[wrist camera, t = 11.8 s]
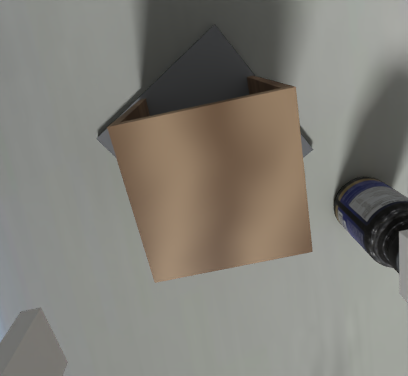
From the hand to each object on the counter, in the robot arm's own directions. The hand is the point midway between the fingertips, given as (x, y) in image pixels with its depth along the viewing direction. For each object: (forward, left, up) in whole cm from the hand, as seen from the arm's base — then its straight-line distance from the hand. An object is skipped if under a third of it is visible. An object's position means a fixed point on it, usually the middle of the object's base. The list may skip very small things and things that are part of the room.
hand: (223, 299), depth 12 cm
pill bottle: (+16, +9, -23) cm, 29 cm away
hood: (0, +1, -22) cm, 22 cm away
